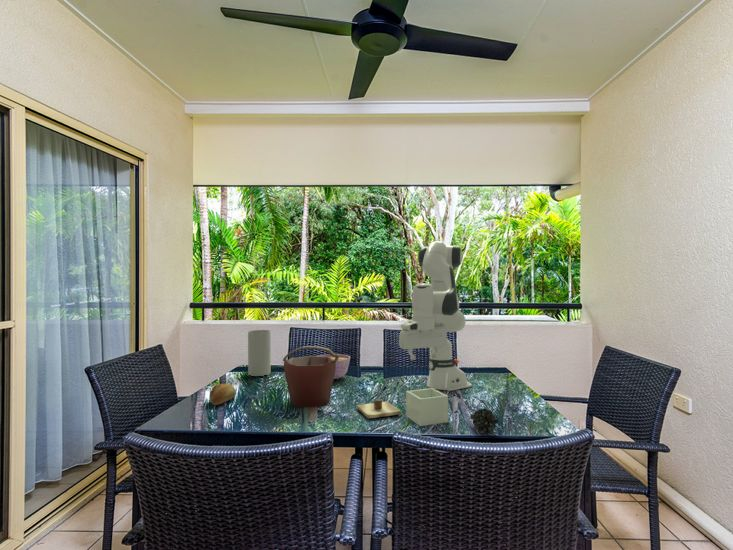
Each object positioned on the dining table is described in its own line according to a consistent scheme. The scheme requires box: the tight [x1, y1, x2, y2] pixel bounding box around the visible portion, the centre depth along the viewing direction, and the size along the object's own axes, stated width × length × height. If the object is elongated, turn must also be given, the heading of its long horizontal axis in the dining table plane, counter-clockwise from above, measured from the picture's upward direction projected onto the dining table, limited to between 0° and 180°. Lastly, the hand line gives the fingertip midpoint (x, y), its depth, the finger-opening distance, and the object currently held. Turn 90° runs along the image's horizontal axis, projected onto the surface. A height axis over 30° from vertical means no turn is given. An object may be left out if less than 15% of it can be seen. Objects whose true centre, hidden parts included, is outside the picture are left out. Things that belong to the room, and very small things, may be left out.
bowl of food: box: [318, 353, 351, 380], centre depth 227 cm, size 20×20×12 cm
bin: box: [405, 387, 449, 427], centre depth 161 cm, size 12×12×10 cm
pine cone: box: [469, 408, 500, 434], centre depth 150 cm, size 9×8×15 cm
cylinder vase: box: [247, 329, 272, 377], centre depth 237 cm, size 12×12×25 cm
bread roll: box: [209, 383, 237, 406], centre depth 186 cm, size 10×15×8 cm, turn 171°
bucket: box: [282, 345, 339, 409], centre depth 183 cm, size 24×22×25 cm
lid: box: [356, 398, 402, 419], centre depth 169 cm, size 14×14×5 cm
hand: (423, 359), depth 163 cm, fingers open, 8 cm apart
